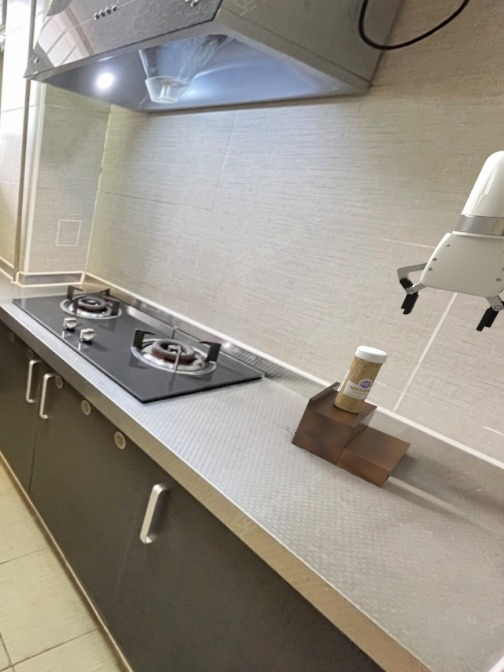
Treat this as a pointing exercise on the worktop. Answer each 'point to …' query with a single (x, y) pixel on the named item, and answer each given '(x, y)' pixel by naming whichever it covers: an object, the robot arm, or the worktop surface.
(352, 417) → the spice rack
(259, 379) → the worktop surface
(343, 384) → the sprinkles bottle
